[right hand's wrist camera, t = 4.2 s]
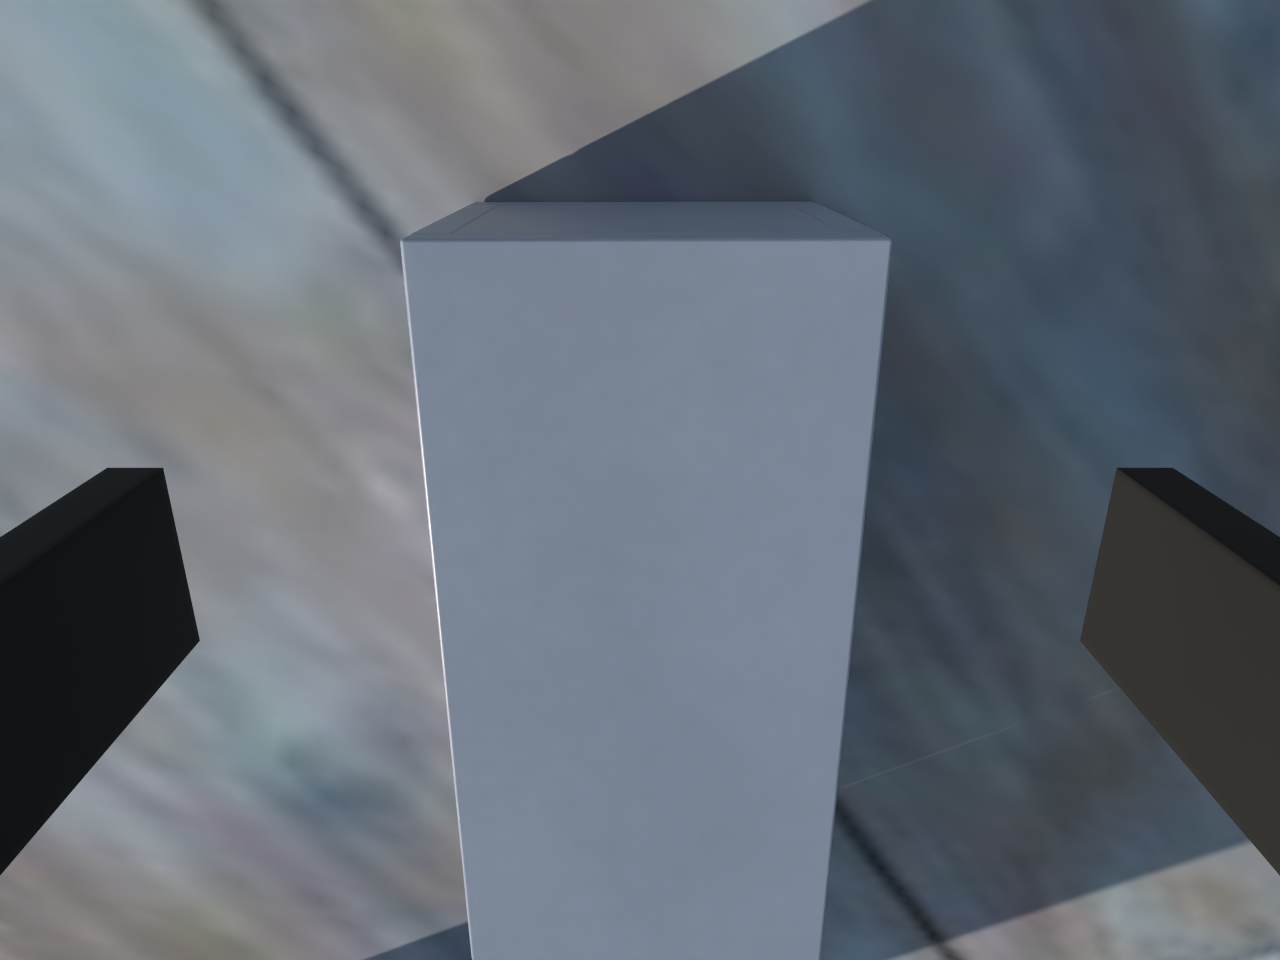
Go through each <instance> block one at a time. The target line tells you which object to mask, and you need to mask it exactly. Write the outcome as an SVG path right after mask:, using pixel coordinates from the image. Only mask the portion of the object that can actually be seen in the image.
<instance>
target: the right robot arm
mask: <svg viewBox="0 0 1280 960" xmlns="http://www.w3.org/2000/svg"><path fill="white" fill-rule="evenodd" d="M199 641H200V640H199V635H198V630H197V626H196V621H195V616H194V611H193V607H192V602H191V597H190V593H189V588H188V583H187V579H186V574H185V569H184V564H183V560H182V555H181V550H180V546H179V541H178V536H177V532H176V527H175V522H174V517H173V513H172V508H171V503H170V499H169V494H168V489H167V485H166V480H165V475H164V470H163V468H106V469H105V470H103V471H102V472H100V473H99V474H97V475H96V476H94V477H93V478H91V479H89V480H88V481H86V482H85V483H83V484H82V485H80V486H79V487H77V488H76V489H74V490H72V491H71V492H69V493H68V494H66V495H65V496H63V497H62V498H60V499H59V500H57V501H56V502H54V503H52V504H51V505H49V506H48V507H46V508H45V509H43V510H42V511H40V512H39V513H37V514H35V515H34V516H32V517H31V518H29V519H28V520H26V521H25V522H23V523H22V524H20V525H18V526H17V527H15V528H14V529H12V530H11V531H9V532H8V533H6V534H5V535H3V536H2V537H0V875H1V874H2V873H3V871H4V870H5V869H6V868H7V867H8V866H9V864H10V863H11V862H12V861H13V860H14V858H15V857H16V856H17V855H18V854H19V853H20V851H21V850H22V849H23V848H24V847H25V846H26V844H27V843H28V842H29V841H30V840H31V838H32V837H33V836H34V835H35V834H36V833H37V831H38V830H39V829H40V828H41V827H42V826H43V824H44V823H45V822H46V821H47V820H48V818H49V817H50V816H51V815H52V814H53V813H54V811H55V810H56V809H57V808H58V807H59V806H60V804H61V803H62V802H63V801H64V800H65V798H66V797H67V796H68V795H69V794H70V793H71V791H72V790H73V789H74V788H75V787H76V786H77V784H78V783H79V782H80V781H81V780H82V778H83V777H84V776H85V775H86V774H87V773H88V771H89V770H90V769H91V768H92V767H93V766H94V764H95V763H96V762H97V761H98V760H99V758H100V757H101V756H102V755H103V754H104V753H105V751H106V750H107V749H108V748H109V747H110V746H111V744H112V743H113V742H114V741H115V740H116V738H117V737H118V736H119V735H120V734H121V733H122V731H123V730H124V729H125V728H126V727H127V726H128V724H129V723H130V722H131V721H132V720H133V718H134V717H135V716H136V715H137V714H138V713H139V711H140V710H141V709H142V708H143V707H144V706H145V704H146V703H147V702H148V701H149V700H150V698H151V697H152V696H153V695H154V694H155V693H156V691H157V690H158V689H159V688H160V687H161V686H162V684H163V683H164V682H165V681H166V680H167V678H168V677H169V676H170V675H171V674H172V673H173V671H174V670H175V669H176V668H177V667H178V666H179V664H180V663H181V662H182V661H183V660H184V658H185V657H186V656H187V655H188V654H189V653H190V651H191V650H192V649H193V648H194V647H195V646H196V644H197V643H198V642H199ZM1080 641H1081V642H1082V643H1083V644H1084V646H1085V647H1086V648H1087V649H1088V650H1089V651H1090V653H1091V654H1092V655H1093V656H1094V657H1095V658H1096V660H1097V661H1098V662H1099V663H1100V664H1101V666H1102V667H1103V668H1104V669H1105V670H1106V671H1107V673H1108V674H1109V675H1110V676H1111V677H1112V678H1113V680H1114V681H1115V682H1116V683H1117V684H1118V686H1119V687H1120V688H1121V689H1122V690H1123V691H1124V693H1125V694H1126V695H1127V696H1128V697H1129V698H1130V700H1131V701H1132V702H1133V703H1134V704H1135V706H1136V707H1137V708H1138V709H1139V710H1140V711H1141V713H1142V714H1143V715H1144V716H1145V717H1146V718H1147V720H1148V721H1149V722H1150V723H1151V724H1152V726H1153V727H1154V728H1155V729H1156V730H1157V731H1158V733H1159V734H1160V735H1161V736H1162V737H1163V738H1164V740H1165V741H1166V742H1167V743H1168V744H1169V746H1170V747H1171V748H1172V749H1173V750H1174V751H1175V753H1176V754H1177V755H1178V756H1179V757H1180V758H1181V760H1182V761H1183V762H1184V763H1185V764H1186V766H1187V767H1188V768H1189V769H1190V770H1191V771H1192V773H1193V774H1194V775H1195V776H1196V777H1197V778H1198V780H1199V781H1200V782H1201V783H1202V784H1203V786H1204V787H1205V788H1206V789H1207V790H1208V791H1209V793H1210V794H1211V795H1212V796H1213V797H1214V798H1215V800H1216V801H1217V802H1218V803H1219V804H1220V806H1221V807H1222V808H1223V809H1224V810H1225V811H1226V813H1227V814H1228V815H1229V816H1230V817H1231V818H1232V820H1233V821H1234V822H1235V823H1236V824H1237V826H1238V827H1239V828H1240V829H1241V830H1242V831H1243V833H1244V834H1245V835H1246V836H1247V837H1248V838H1249V840H1250V841H1251V842H1252V843H1253V844H1254V846H1255V847H1256V848H1257V849H1258V850H1259V851H1260V853H1261V854H1262V855H1263V856H1264V857H1265V858H1266V860H1267V861H1268V862H1269V863H1270V864H1271V866H1272V867H1273V868H1274V869H1275V870H1276V871H1277V873H1278V874H1279V875H1280V537H1278V536H1277V535H1275V534H1274V533H1272V532H1271V531H1269V530H1268V529H1266V528H1265V527H1263V526H1262V525H1260V524H1258V523H1257V522H1255V521H1254V520H1252V519H1251V518H1249V517H1248V516H1246V515H1245V514H1243V513H1241V512H1240V511H1238V510H1237V509H1235V508H1234V507H1232V506H1231V505H1229V504H1228V503H1226V502H1224V501H1223V500H1221V499H1220V498H1218V497H1217V496H1215V495H1214V494H1212V493H1211V492H1209V491H1208V490H1206V489H1204V488H1203V487H1201V486H1200V485H1198V484H1197V483H1195V482H1194V481H1192V480H1191V479H1189V478H1187V477H1186V476H1184V475H1183V474H1181V473H1180V472H1178V471H1177V470H1175V469H1174V468H1117V470H1116V475H1115V480H1114V485H1113V489H1112V494H1111V499H1110V503H1109V508H1108V513H1107V517H1106V522H1105V527H1104V532H1103V536H1102V541H1101V546H1100V550H1099V555H1098V560H1097V564H1096V569H1095V574H1094V579H1093V583H1092V588H1091V593H1090V597H1089V602H1088V607H1087V611H1086V616H1085V621H1084V626H1083V630H1082V635H1081V640H1080Z"/></svg>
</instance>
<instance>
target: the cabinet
mask: <svg viewBox="0 0 1280 960" xmlns="http://www.w3.org/2000/svg"><path fill="white" fill-rule="evenodd" d="M400 245H401V255H402V265H403V275H404V285H405V295H406V305H407V315H408V325H409V335H410V345H411V355H412V365H413V375H414V385H415V395H416V405H417V415H418V425H419V435H420V445H421V455H422V465H423V475H424V485H425V495H426V505H427V515H428V525H429V535H430V545H431V555H432V565H433V575H434V585H435V595H436V605H437V615H438V625H439V635H440V645H441V655H442V665H443V675H444V685H445V695H446V705H447V715H448V725H449V735H450V745H451V755H452V765H453V775H454V785H455V795H456V805H457V815H458V825H459V835H460V845H461V855H462V865H463V875H464V885H465V895H466V906H467V916H468V926H469V936H470V946H471V956H472V960H820V958H821V949H822V939H823V929H824V919H825V910H826V900H827V890H828V880H829V870H830V860H831V850H832V840H833V830H834V820H835V810H836V800H837V791H838V781H839V771H840V761H841V751H842V741H843V731H844V721H845V711H846V701H847V691H848V681H849V671H850V662H851V652H852V642H853V632H854V622H855V612H856V602H857V592H858V582H859V572H860V562H861V552H862V542H863V533H864V523H865V513H866V503H867V493H868V483H869V473H870V463H871V453H872V443H873V433H874V423H875V413H876V404H877V394H878V384H879V374H880V364H881V354H882V344H883V334H884V324H885V314H886V304H887V294H888V284H889V275H890V265H891V255H892V245H893V241H892V238H890V237H888V236H886V235H884V234H882V233H880V232H878V231H876V230H874V229H871V228H869V227H867V226H865V225H863V224H861V223H859V222H856V221H854V220H852V219H850V218H848V217H846V216H844V215H841V214H839V213H837V212H835V211H833V210H831V209H828V208H826V207H824V206H822V205H820V204H818V203H815V202H813V201H749V202H475V203H473V204H471V205H469V206H467V207H465V208H463V209H461V210H459V211H457V212H454V213H452V214H450V215H448V216H446V217H444V218H442V219H440V220H438V221H436V222H434V223H432V224H430V225H428V226H426V227H424V228H422V229H420V230H418V231H416V232H414V233H412V234H411V235H409V236H407V237H405V238H403V239H401V242H400Z"/></svg>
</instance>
